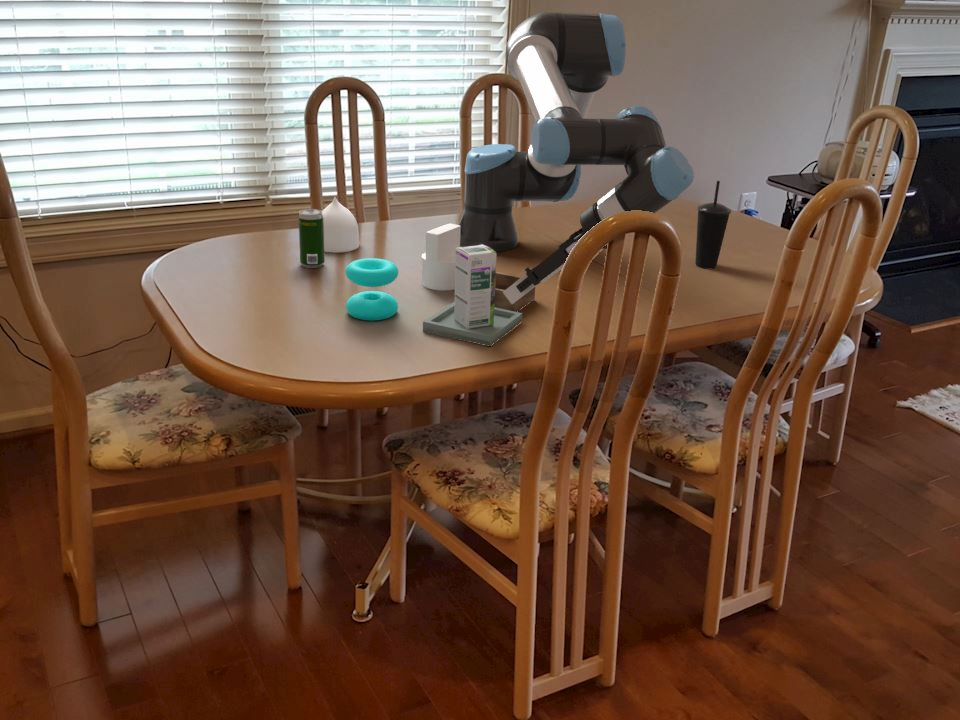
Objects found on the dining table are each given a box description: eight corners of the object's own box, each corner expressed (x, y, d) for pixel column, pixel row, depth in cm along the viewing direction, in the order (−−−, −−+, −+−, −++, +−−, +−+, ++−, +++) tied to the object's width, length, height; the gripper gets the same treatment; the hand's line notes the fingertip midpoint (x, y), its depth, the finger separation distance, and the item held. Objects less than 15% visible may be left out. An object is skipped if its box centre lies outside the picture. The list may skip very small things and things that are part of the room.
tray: (422, 331, 173) (423, 321, 172) (457, 308, 185) (457, 299, 184) (490, 347, 168) (490, 336, 167) (521, 322, 179) (522, 313, 179)
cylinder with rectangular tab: (447, 293, 193) (449, 237, 188) (412, 284, 197) (413, 229, 192) (471, 282, 200) (473, 228, 195) (436, 273, 204) (437, 220, 199)
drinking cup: (723, 272, 214) (736, 186, 206) (689, 268, 215) (701, 183, 207) (722, 262, 221) (734, 178, 213) (689, 259, 222) (700, 176, 214)
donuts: (363, 253, 183) (407, 261, 179) (363, 301, 187) (407, 310, 183) (335, 266, 174) (381, 276, 171) (336, 316, 178) (381, 326, 175)
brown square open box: (468, 305, 187) (469, 284, 185) (490, 291, 195) (491, 270, 193) (514, 315, 183) (515, 293, 181) (534, 300, 191) (535, 279, 189)
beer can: (326, 267, 205) (325, 214, 200) (302, 269, 203) (300, 215, 198) (322, 260, 209) (320, 208, 204) (298, 261, 208) (296, 209, 203)
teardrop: (346, 255, 214) (346, 204, 209) (303, 248, 217) (302, 198, 212) (367, 242, 223) (366, 193, 219) (325, 236, 227) (324, 188, 222)
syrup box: (467, 330, 172) (469, 255, 166) (452, 319, 177) (455, 245, 171) (494, 325, 175) (497, 251, 169) (479, 315, 179) (482, 242, 173)
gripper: (598, 255, 146) (507, 324, 158) (646, 220, 167) (562, 284, 178) (570, 217, 146) (480, 289, 158) (621, 187, 166) (538, 253, 178)
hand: (523, 287), depth 168 cm, fingers open, 13 cm apart
